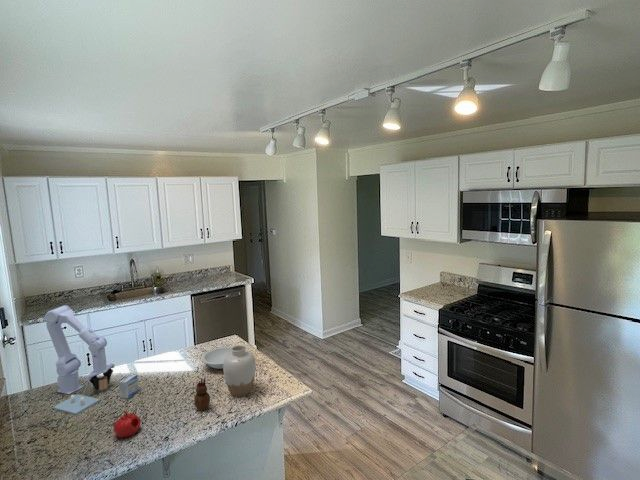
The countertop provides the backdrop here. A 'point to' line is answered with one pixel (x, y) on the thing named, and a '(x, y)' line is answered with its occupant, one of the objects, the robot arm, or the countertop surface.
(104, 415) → the countertop surface
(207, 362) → the soup bowl
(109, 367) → the robot arm
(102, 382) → the sleeve
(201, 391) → the wooden figurine
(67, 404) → the pin board
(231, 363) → the vase
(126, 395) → the medicine box
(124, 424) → the pomegranate
